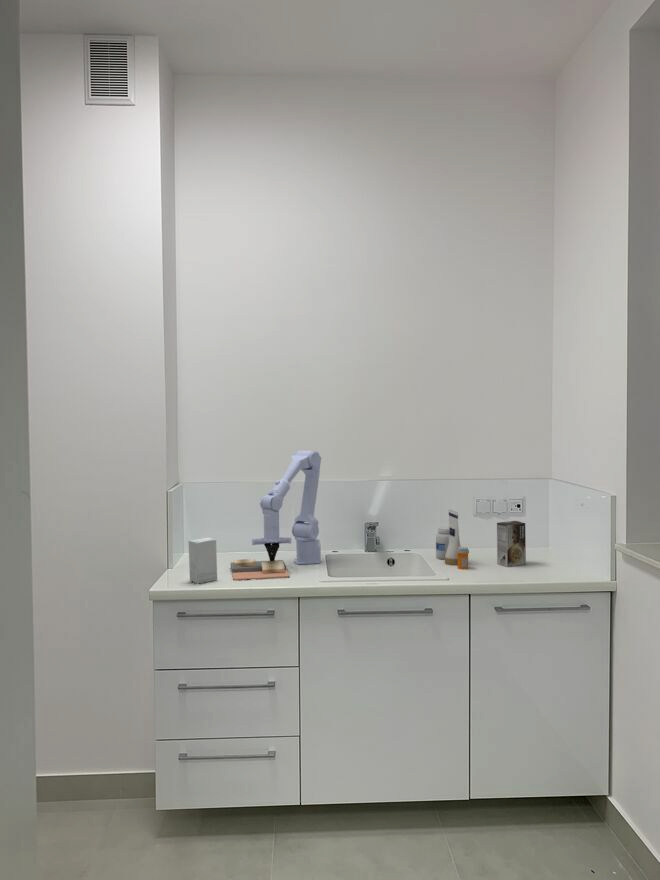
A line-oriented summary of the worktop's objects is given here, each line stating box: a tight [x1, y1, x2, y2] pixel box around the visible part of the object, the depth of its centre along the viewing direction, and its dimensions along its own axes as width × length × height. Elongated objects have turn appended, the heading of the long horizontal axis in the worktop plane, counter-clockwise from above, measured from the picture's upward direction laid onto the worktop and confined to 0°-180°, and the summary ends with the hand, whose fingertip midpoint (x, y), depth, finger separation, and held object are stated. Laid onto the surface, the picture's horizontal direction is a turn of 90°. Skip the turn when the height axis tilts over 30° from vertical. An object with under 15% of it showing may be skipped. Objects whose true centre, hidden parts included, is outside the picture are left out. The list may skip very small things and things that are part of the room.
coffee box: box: [496, 520, 527, 568], centre depth 268 cm, size 9×6×16 cm
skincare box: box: [188, 536, 218, 584], centre depth 247 cm, size 8×6×15 cm
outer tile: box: [233, 558, 256, 567], centre depth 263 cm, size 8×6×2 cm
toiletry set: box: [435, 509, 470, 570], centre depth 272 cm, size 25×8×20 cm, turn 11°
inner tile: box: [261, 560, 285, 574], centre depth 258 cm, size 8×6×2 cm
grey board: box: [230, 559, 287, 574], centre depth 265 cm, size 20×11×2 cm, turn 101°
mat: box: [231, 569, 291, 581], centre depth 254 cm, size 20×10×1 cm, turn 101°
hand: (272, 563), depth 262 cm, fingers closed
